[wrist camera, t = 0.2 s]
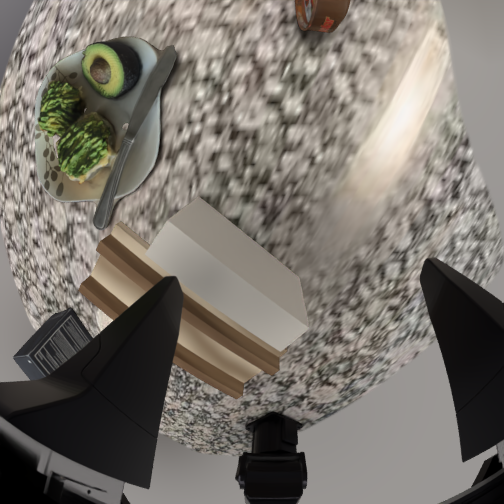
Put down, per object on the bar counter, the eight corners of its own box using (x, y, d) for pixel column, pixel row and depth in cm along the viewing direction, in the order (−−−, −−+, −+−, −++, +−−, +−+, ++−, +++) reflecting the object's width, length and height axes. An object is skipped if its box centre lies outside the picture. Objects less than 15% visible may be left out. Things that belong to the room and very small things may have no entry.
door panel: (278, 297, 27) (280, 351, 19) (180, 221, 24) (144, 254, 17) (299, 277, 26) (309, 328, 18) (199, 196, 23) (167, 220, 16)
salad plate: (181, 226, 25) (164, 243, 21) (49, 224, 26) (24, 237, 21) (186, 29, 18) (170, 9, 13) (47, 69, 18) (21, 65, 14)
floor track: (232, 385, 32) (230, 403, 29) (88, 285, 28) (75, 297, 25) (286, 345, 29) (288, 363, 26) (120, 221, 25) (105, 230, 22)
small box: (50, 314, 31) (9, 356, 21) (72, 305, 29) (27, 353, 20) (89, 368, 34) (59, 414, 24) (114, 365, 33) (84, 417, 23)
